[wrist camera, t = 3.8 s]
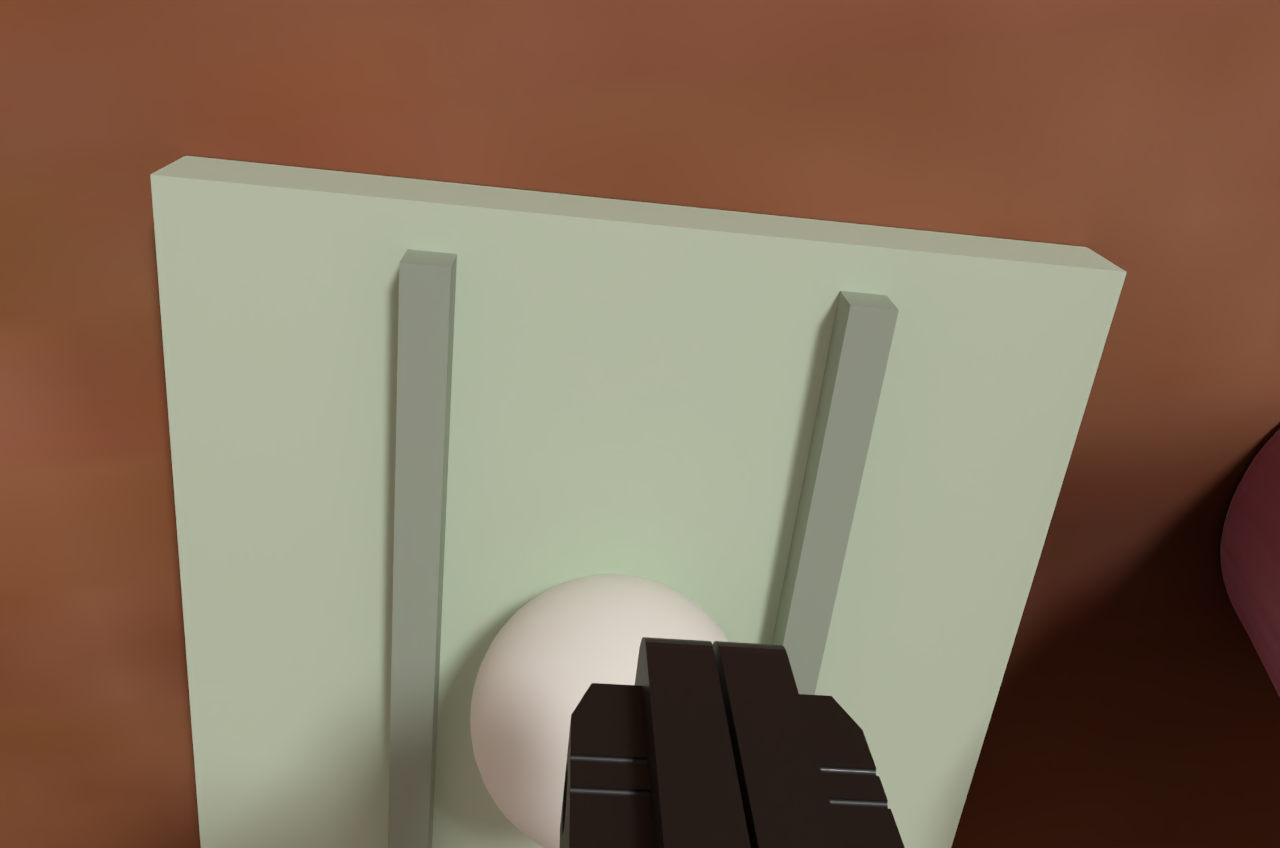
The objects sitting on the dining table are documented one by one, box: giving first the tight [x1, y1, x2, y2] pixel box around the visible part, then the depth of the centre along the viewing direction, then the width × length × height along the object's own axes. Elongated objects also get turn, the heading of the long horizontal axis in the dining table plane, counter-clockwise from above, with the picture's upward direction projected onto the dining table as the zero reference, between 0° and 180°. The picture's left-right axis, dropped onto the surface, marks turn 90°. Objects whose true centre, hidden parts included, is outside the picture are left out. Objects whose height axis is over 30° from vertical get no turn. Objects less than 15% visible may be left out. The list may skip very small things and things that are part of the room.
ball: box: [470, 574, 729, 848], centre depth 23 cm, size 6×6×6 cm
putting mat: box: [151, 156, 1127, 848], centre depth 29 cm, size 32×20×3 cm, turn 174°
